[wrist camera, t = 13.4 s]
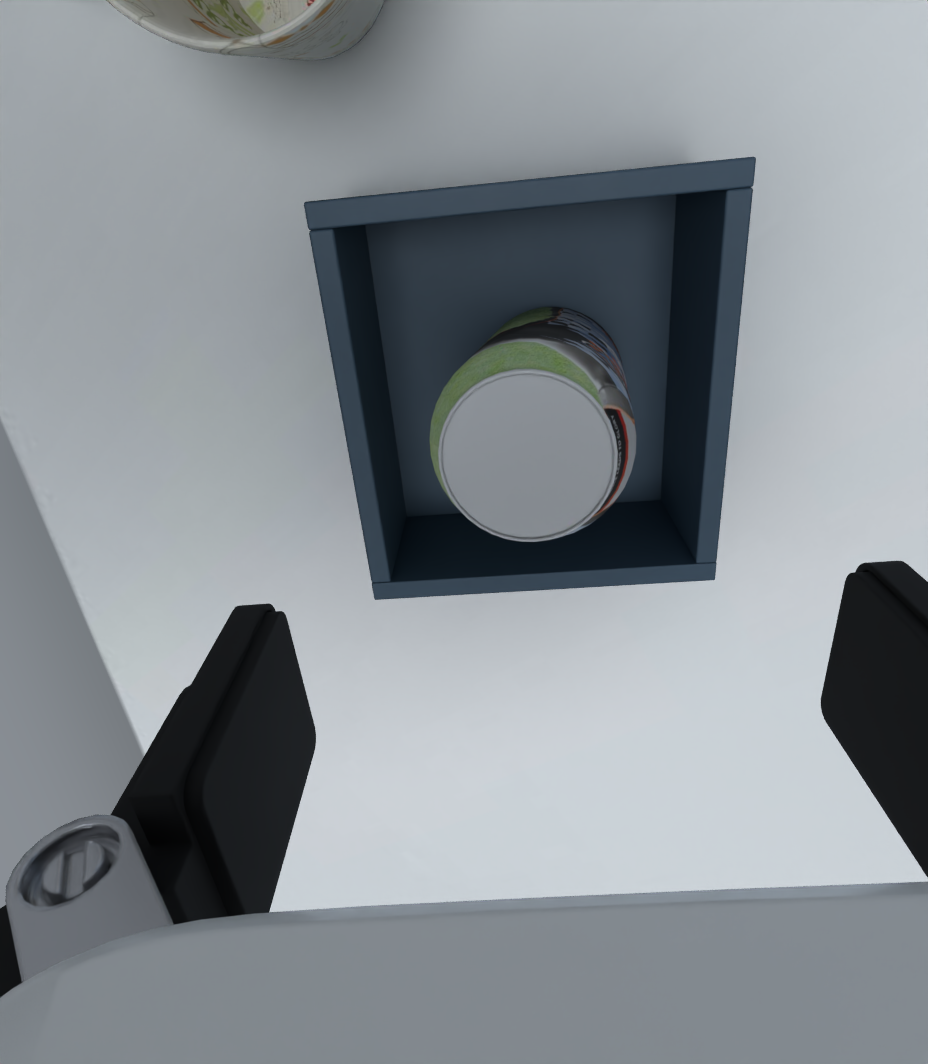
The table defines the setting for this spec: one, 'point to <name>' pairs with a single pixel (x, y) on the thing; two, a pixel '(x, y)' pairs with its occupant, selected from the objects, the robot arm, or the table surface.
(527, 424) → the beverage can
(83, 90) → the table surface
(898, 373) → the table surface
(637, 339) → the bin
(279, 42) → the mug
